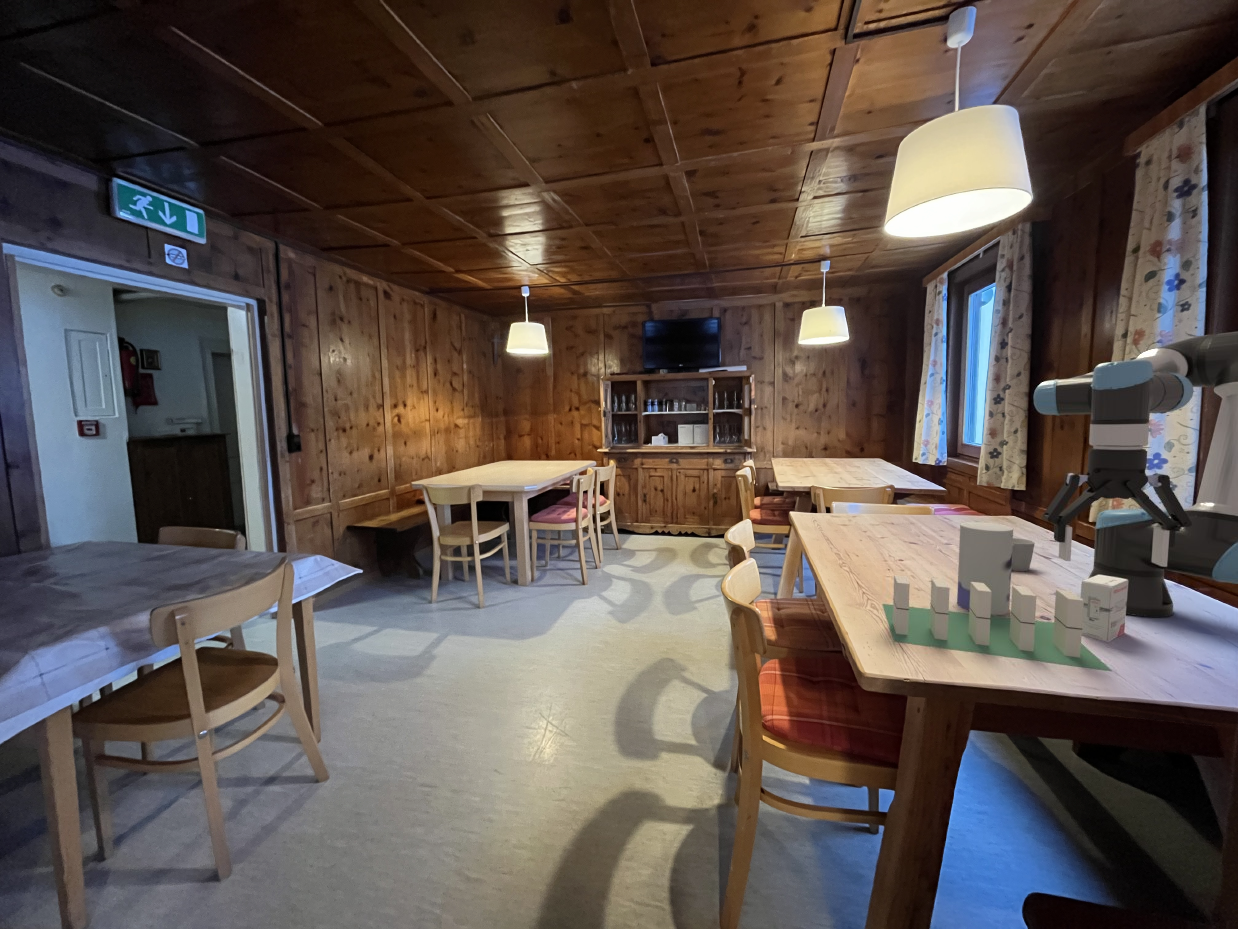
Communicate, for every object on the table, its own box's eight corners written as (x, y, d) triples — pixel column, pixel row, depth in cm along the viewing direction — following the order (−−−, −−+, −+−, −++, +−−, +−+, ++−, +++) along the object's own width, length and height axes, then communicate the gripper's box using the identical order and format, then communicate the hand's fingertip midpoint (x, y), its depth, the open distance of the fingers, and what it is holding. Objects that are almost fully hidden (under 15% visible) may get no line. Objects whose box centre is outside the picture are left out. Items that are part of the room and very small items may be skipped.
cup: (1038, 570, 145) (1040, 541, 144) (1020, 575, 140) (1021, 546, 139) (1009, 563, 151) (1010, 536, 151) (990, 568, 147) (991, 540, 146)
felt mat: (1058, 625, 107) (1058, 623, 107) (1112, 673, 87) (1112, 671, 87) (882, 605, 120) (882, 603, 120) (893, 643, 100) (893, 641, 100)
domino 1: (904, 624, 108) (905, 576, 107) (908, 635, 103) (909, 583, 102) (892, 623, 109) (893, 574, 108) (895, 633, 103) (897, 582, 102)
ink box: (1095, 626, 106) (1098, 572, 105) (1126, 634, 102) (1130, 579, 101) (1076, 635, 102) (1080, 579, 101) (1108, 644, 98) (1112, 586, 97)
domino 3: (981, 634, 102) (983, 582, 101) (989, 645, 97) (991, 591, 96) (968, 632, 103) (970, 581, 102) (975, 644, 98) (977, 590, 97)
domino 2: (941, 629, 105) (943, 579, 104) (947, 640, 100) (949, 587, 99) (929, 628, 106) (931, 578, 105) (934, 638, 101) (936, 586, 100)
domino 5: (1067, 645, 97) (1070, 590, 96) (1080, 657, 92) (1084, 600, 91) (1052, 643, 98) (1055, 589, 97) (1065, 655, 93) (1068, 599, 92)
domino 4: (1023, 639, 100) (1025, 586, 99) (1033, 651, 94) (1036, 596, 93) (1009, 637, 100) (1012, 585, 99) (1019, 649, 95) (1022, 594, 94)
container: (1018, 617, 111) (1022, 530, 109) (968, 614, 113) (971, 529, 112) (995, 601, 121) (999, 521, 119) (949, 599, 123) (953, 520, 121)
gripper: (1194, 445, 88) (1186, 560, 90) (1024, 446, 97) (1020, 552, 99) (1228, 448, 81) (1218, 573, 83) (1041, 449, 90) (1036, 562, 92)
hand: (1110, 561), depth 91 cm, fingers open, 13 cm apart
